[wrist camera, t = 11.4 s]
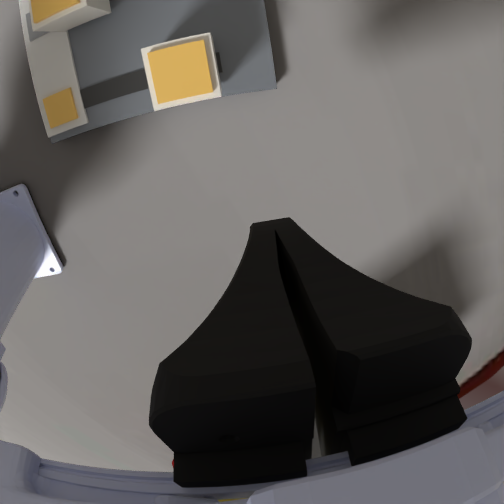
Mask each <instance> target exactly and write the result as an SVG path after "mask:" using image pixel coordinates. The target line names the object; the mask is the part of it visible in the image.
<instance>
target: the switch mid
mask: <svg viewBox="0 0 504 504" xmlns="http://www.w3.org/2000/svg"><path fill="white" fill-rule="evenodd" d="M28 1H29V9H30V16H31V23H32V29H33V31H49V32H65V31H67V30H69V29H72V28H74V27H76V26H78V25H81V24H83V23H86V22H88V21H91V20H93V19H96V18H98V17H101V16H104V15H106V14H109V13H111V8H110V2H109V0H28Z"/></svg>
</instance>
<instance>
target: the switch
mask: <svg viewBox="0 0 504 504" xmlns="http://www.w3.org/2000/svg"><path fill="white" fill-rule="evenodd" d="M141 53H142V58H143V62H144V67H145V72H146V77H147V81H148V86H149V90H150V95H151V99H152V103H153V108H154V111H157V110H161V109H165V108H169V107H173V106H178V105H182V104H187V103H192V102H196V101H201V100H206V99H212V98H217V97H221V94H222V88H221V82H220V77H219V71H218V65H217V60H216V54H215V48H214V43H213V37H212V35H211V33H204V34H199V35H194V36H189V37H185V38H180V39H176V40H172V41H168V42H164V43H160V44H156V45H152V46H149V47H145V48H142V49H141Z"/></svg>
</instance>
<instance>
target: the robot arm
mask: <svg viewBox="0 0 504 504" xmlns="http://www.w3.org/2000/svg"><path fill="white" fill-rule="evenodd" d="M16 191H17V192H18V194H19V195H18V194H17V193H16ZM52 268H54V269H52ZM62 271H63V265H62V263H61V261H60V259H59V257H58V255H57V253H56V251H55V249H54V247H53V245H52V243H51V241H50V239H49V237H48V235H47V233H46V231H45V228H44V226H43V224H42V222H41V220H40V217H39V215H38V213H37V211H36V208H35V206H34V204H33V201H32V199H31V196H30V194H29V191H28V189H27V187H26V186H25V185H24V184H19V185H16V186H14V187H11V188H9V189H7V190H4V191H2V192H0V339H1V337H2V335H3V333H4V331H5V329H6V327H7V325H8V323H9V321H10V319H11V317H12V315H13V314H14V312H15V310H16V308H17V306H18V304H19V303H20V301H21V299H22V297H23V295H24V294H25V292H26V290H27V289H28V287H29V285H30V283H31V282H32V280H33V278H38V277H43V276H49V275H54V274H59V273H61V272H62ZM471 346H472V338H471V337H470V335H469V333H468V331H467V330H466V328H465V326H464V325H463V323H462V321H461V320H460V318H459V317H458V316H457V314H456V313H455V312H454V310H453V309H452V308H451V307H450V306H446V305H443V304H439V303H436V302H432V301H428V300H425V299H421V298H418V297H415V296H412V295H410V294H407V293H404V292H401V291H399V290H396V289H394V288H392V287H389V286H387V285H385V284H383V283H380V282H378V281H376V280H374V279H372V278H370V277H368V276H366V275H364V274H362V273H360V272H359V271H357V270H355V269H354V268H352V267H350V266H349V265H347V264H345V263H344V262H342V261H341V260H339V259H338V258H336V257H335V256H334V255H332V254H331V253H330V252H328V251H327V250H326V249H324V248H323V247H322V246H321V245H320V244H318V243H317V242H316V241H315V240H314V239H312V238H311V237H310V236H309V235H308V234H307V233H306V232H305V231H304V230H302V229H301V228H300V227H299V226H298V225H297V224H296V223H295V222H294V221H293V220H292V219H291V218H289V217H288V218H282V219H276V220H270V221H264V222H257V223H253V224H252V225H251V226H250V234H249V239H248V242H247V246H246V248H245V251H244V254H243V257H242V259H241V262H240V264H239V266H238V268H237V270H236V272H235V275H234V277H233V279H232V280H231V282H230V284H229V286H228V288H227V289H226V291H225V292H224V294H223V296H222V297H221V299H220V300H219V302H218V303H217V304H216V306H215V307H214V309H213V310H212V311H211V313H210V314H209V315H208V317H207V318H206V319H205V320H204V321H203V323H202V324H201V325H200V326H199V327H198V328H197V329H196V330H195V331H194V333H193V334H192V335H191V336H190V337H189V338H188V339H187V340H186V341H185V342H184V343H183V344H182V345H181V346H179V347H178V348H177V349H176V350H175V351H174V352H173V353H171V354H170V355H169V356H168V357H167V358H166V359H164V360H163V361H162V362H161V363H160V364H159V367H158V370H157V374H156V377H155V381H154V385H153V389H152V394H151V403H150V414H149V426H150V427H151V429H152V430H153V432H154V433H155V434H156V435H157V436H158V437H159V438H160V439H161V440H162V441H163V442H164V443H165V444H166V445H167V446H168V447H169V448H170V449H171V450H172V451H173V452H174V472H148V471H129V470H116V469H106V468H97V467H89V466H82V465H75V464H69V463H63V462H57V461H52V460H47V459H42V458H40V457H39V456H38V455H37V454H35V453H34V452H32V451H31V450H29V449H27V448H25V447H23V446H20V445H17V444H13V443H9V442H5V441H1V440H0V504H504V485H503V481H504V391H502V392H500V393H498V394H496V395H495V396H493V397H491V398H489V399H487V400H485V401H483V402H481V403H479V404H477V405H474V406H472V407H470V408H468V409H466V410H464V409H463V407H462V405H461V403H460V401H459V399H458V396H457V394H459V392H460V387H459V385H458V383H457V381H456V379H455V378H456V376H457V375H458V373H459V371H460V370H461V368H462V366H463V364H464V363H465V361H466V359H467V357H468V355H469V352H470V350H471ZM5 350H6V348H5V347H4V346H3V344H2V343H1V341H0V412H1V409H2V407H3V405H4V402H5V398H6V394H7V383H8V376H7V371H6V368H5V366H4V365H3V363H2V362H1V359H2V356H3V354H4V352H5ZM315 422H316V428H317V433H318V439H319V445H320V451H321V457H318V458H313V459H312V439H313V438H314V423H315ZM240 498H246V499H240ZM224 499H239V500H232V501H224V502H219V501H218V500H224Z"/></svg>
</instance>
